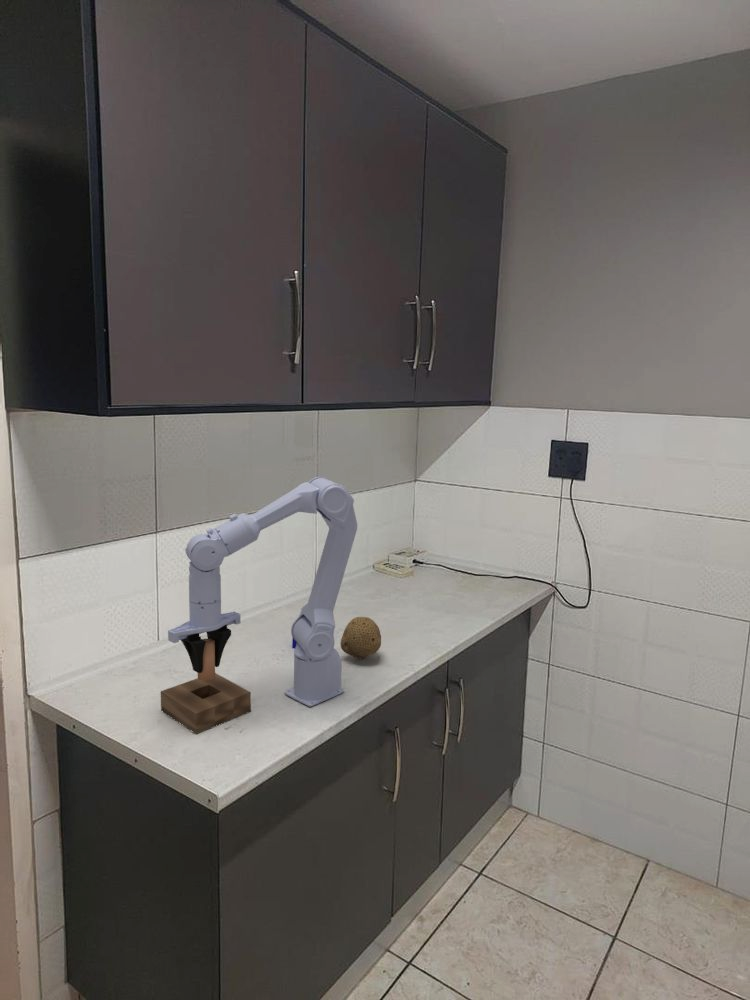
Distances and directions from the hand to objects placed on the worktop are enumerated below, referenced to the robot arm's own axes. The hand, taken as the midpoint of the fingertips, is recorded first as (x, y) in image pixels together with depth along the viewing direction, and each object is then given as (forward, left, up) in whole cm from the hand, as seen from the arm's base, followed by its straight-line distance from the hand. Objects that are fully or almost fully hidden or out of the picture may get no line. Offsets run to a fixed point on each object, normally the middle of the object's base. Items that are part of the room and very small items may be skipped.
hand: (206, 668), depth 129 cm
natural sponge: (-39, +4, -9) cm, 40 cm away
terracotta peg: (0, 0, -2) cm, 2 cm away
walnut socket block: (0, 0, -9) cm, 9 cm away
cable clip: (-38, -14, -9) cm, 41 cm away
